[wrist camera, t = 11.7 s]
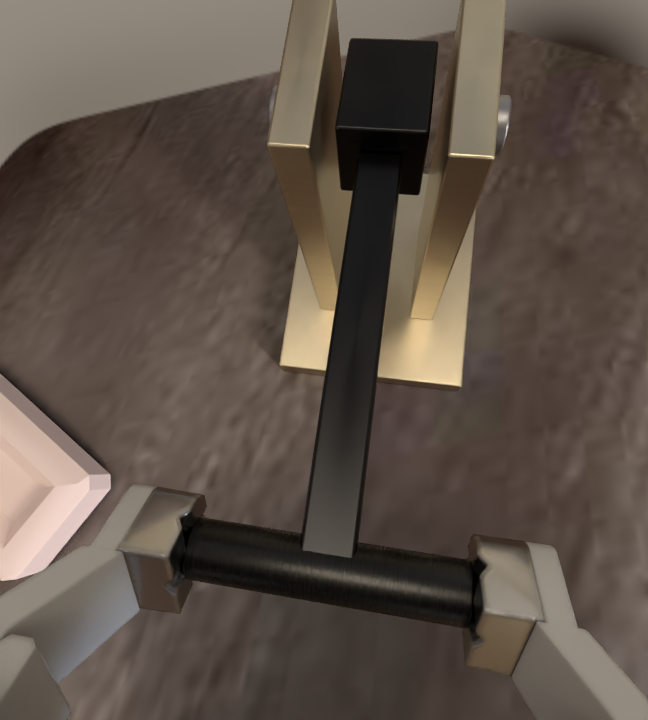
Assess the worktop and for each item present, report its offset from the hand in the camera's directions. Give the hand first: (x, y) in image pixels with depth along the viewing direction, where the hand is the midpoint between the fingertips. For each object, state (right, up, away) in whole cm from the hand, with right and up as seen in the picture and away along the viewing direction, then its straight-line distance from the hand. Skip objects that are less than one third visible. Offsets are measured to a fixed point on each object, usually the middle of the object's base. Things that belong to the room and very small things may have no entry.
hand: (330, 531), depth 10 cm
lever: (+1, +5, +2) cm, 5 cm away
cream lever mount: (+3, +7, +13) cm, 15 cm away
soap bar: (-15, -1, +13) cm, 20 cm away
